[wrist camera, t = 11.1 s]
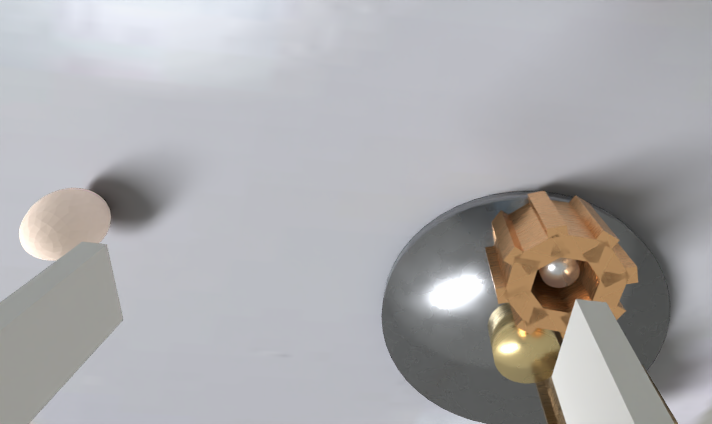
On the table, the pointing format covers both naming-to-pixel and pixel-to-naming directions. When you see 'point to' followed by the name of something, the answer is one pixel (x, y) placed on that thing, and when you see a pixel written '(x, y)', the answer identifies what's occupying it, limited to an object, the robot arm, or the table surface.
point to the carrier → (497, 318)
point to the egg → (64, 222)
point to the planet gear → (546, 244)
